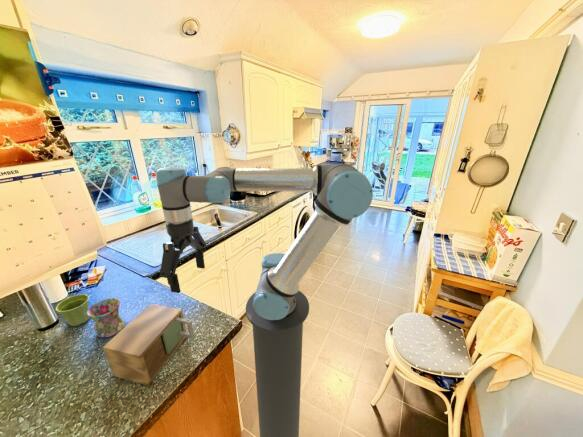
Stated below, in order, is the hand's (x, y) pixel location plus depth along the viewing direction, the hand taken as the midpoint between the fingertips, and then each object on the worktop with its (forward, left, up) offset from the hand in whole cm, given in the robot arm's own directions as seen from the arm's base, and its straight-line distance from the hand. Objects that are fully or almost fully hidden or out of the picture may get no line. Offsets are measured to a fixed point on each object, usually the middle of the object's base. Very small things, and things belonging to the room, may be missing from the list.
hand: (189, 278), depth 78 cm
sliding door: (+7, +5, -21) cm, 23 cm away
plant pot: (+35, -32, -23) cm, 53 cm away
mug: (+26, -18, -23) cm, 39 cm away
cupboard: (+15, +1, -23) cm, 27 cm away
